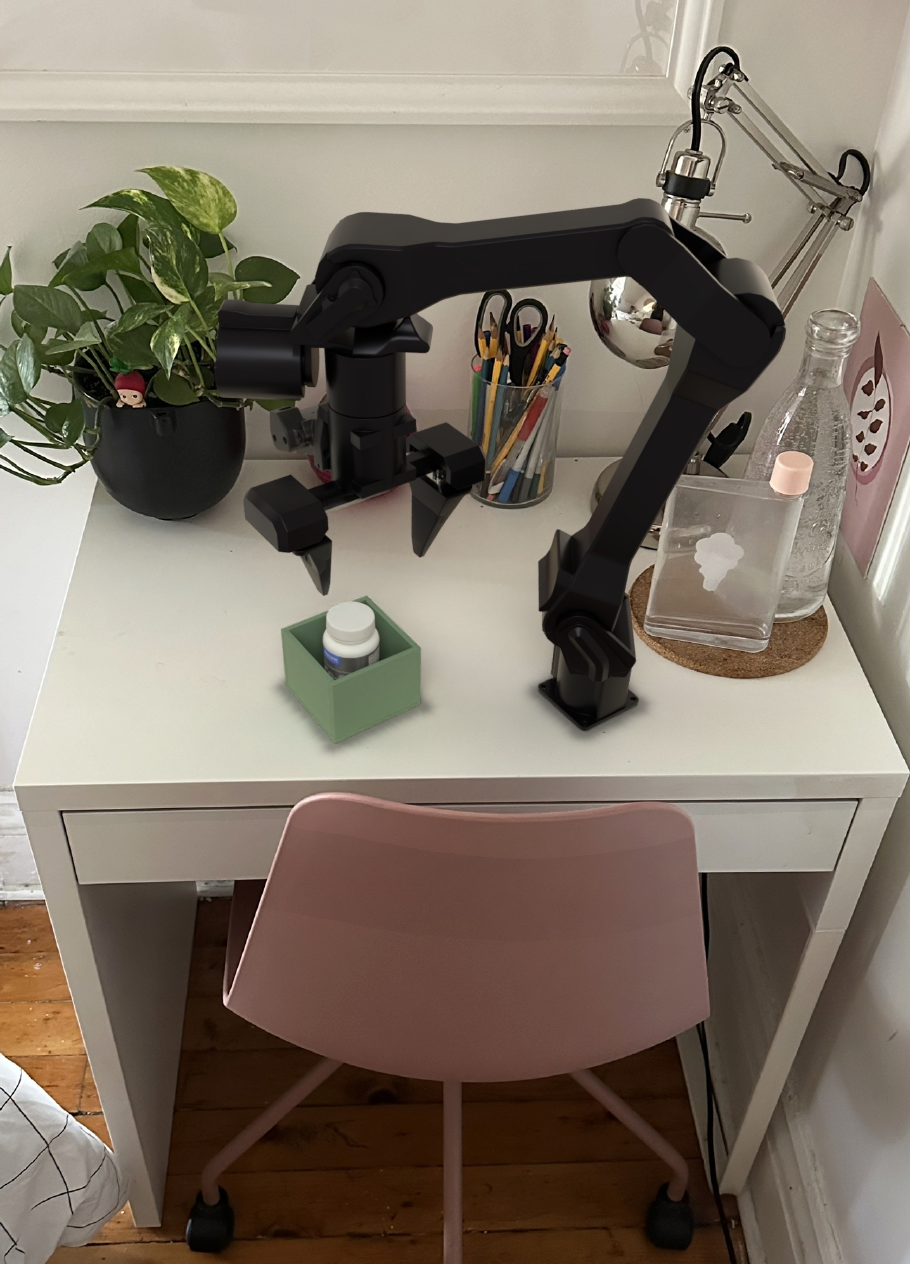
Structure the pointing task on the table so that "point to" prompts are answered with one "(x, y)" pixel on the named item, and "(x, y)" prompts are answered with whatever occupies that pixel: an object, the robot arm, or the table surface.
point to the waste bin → (352, 676)
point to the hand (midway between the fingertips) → (371, 573)
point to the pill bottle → (349, 639)
